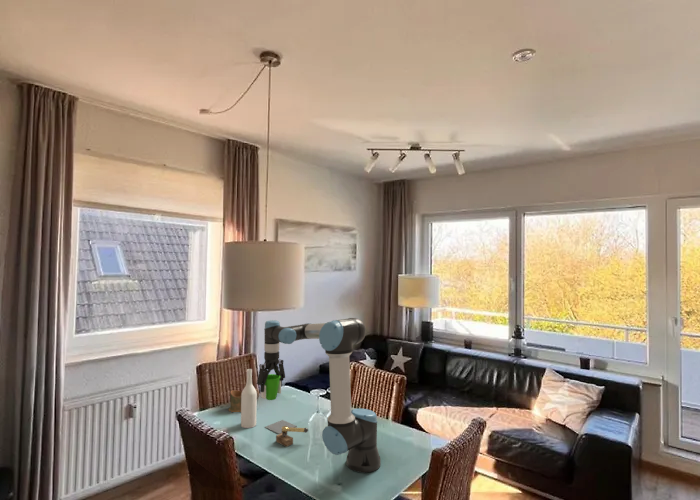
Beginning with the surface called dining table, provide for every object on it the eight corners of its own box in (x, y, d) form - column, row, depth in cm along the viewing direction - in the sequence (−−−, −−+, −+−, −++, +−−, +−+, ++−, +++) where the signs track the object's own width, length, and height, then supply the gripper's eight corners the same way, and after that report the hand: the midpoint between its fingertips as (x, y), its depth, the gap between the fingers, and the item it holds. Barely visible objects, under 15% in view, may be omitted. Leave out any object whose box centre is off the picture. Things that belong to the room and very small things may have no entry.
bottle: (245, 429, 205) (245, 372, 206) (238, 424, 211) (239, 369, 212) (259, 425, 211) (259, 369, 211) (252, 420, 217) (252, 366, 217)
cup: (276, 402, 194) (276, 380, 194) (259, 400, 195) (259, 378, 195) (282, 396, 202) (283, 374, 203) (266, 394, 204) (266, 373, 204)
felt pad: (296, 426, 209) (296, 426, 209) (279, 434, 200) (279, 433, 200) (282, 420, 217) (282, 419, 217) (264, 427, 208) (264, 426, 208)
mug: (256, 413, 227) (256, 392, 227) (225, 412, 227) (226, 392, 228) (260, 405, 239) (261, 385, 239) (232, 405, 239) (232, 385, 239)
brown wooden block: (293, 443, 190) (293, 434, 190) (286, 446, 187) (286, 437, 187) (282, 438, 196) (282, 429, 196) (276, 441, 192) (276, 432, 193)
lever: (281, 432, 191) (281, 428, 191) (282, 430, 194) (282, 425, 194) (307, 433, 190) (307, 429, 190) (308, 431, 193) (308, 426, 193)
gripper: (283, 346, 210) (282, 388, 210) (249, 353, 193) (249, 399, 193) (292, 348, 205) (292, 391, 205) (258, 356, 189) (258, 403, 188)
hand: (271, 395), depth 199 cm, fingers closed on cup, 9 cm apart
